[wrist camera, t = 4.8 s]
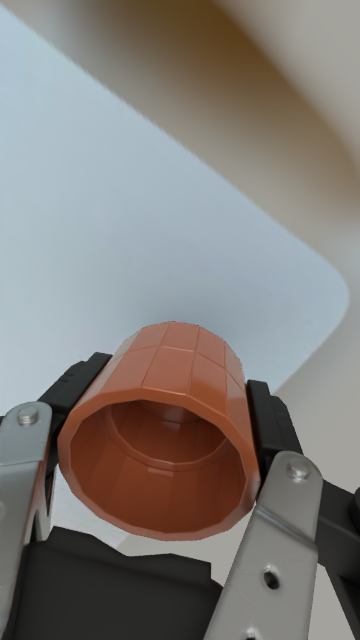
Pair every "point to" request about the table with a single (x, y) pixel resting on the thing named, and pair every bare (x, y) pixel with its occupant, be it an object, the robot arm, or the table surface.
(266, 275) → the table surface
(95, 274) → the table surface
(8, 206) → the table surface
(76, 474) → the flower pot
